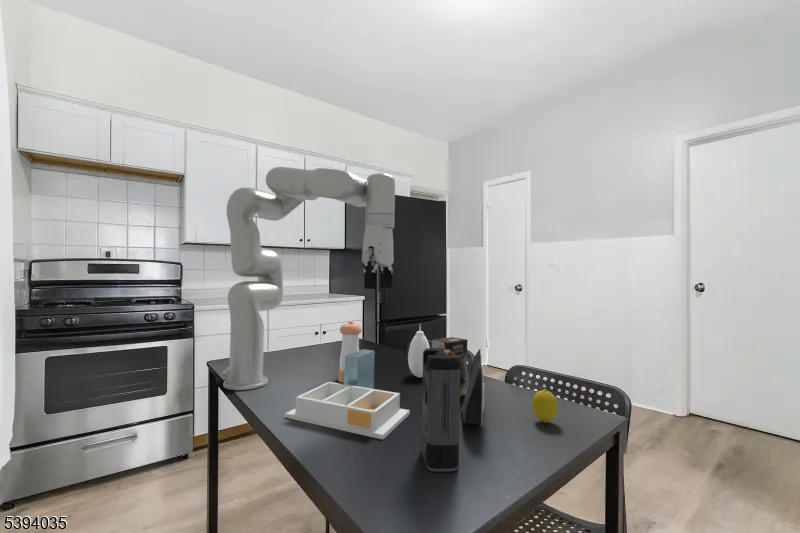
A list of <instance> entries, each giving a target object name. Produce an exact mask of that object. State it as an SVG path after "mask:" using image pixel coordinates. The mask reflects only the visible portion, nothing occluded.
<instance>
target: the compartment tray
mask: <svg viewBox="0 0 800 533" xmlns="http://www.w3.org/2000/svg"><path fill="white" fill-rule="evenodd" d="M400 398H401V393H400V392H393V391H389V390H388V391H387V390H383V389H375V388H374V389H370V388H364V387H358V386H352V385H346V384H344V383H341V382H339V383H338V382H332V381H328V382H325V383H323V384H321V385H319V386H317V387H315V388H313V389H311V390H308V391H305V392H304V393H302V394H299V395H297V396H296V397H295V408H293V409H291V410H289V411H287V412H285V415H284V416H285V418H287V419H290V420H294V421H298V422H299V421H300V422H304V423H308V424H312V425H317V426H322V427H324V428H325V427H327V428H330V429H334V430H339V431H343V432H347V433H352V434H355V435H356V434H357V435H362V436H365V437H370V438H373V439H374V438H375V439H378V440H384V439H385V438H387V437H388V436H389V435H390V434H391V433H392V432H393V431H394V430H395V429H396V428H397V427H398V426H399V425H400V424H401V423H402V422H403V421H404V420H405V419H406V418H408V416H410V413H411V412H410V411H411V410H410V409H405V408H401V402H400V401H401V399H400Z"/></svg>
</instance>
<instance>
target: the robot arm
mask: <svg viewBox="0 0 800 533" xmlns="http://www.w3.org/2000/svg"><path fill="white" fill-rule="evenodd" d="M265 184H266V186H267V189H269V190H270V191H271V192H272V193H271V192H267V191H265V190H261V189H258V188H253V187H240V188H237V189H235V190H234V191H233V192H232V193H231V195H230V196H229V198H228V200H227V203H226V218H227V223H228V229H229V235H230V253H231V254H230V256H231V257H230V258H231V268H232V271H233V273H234V274H235V275H236V276H239V277H242V278H244V277H245V278H257V280H246V281H239V282H237V283H234V285H232V286H231V287H230V289H229V291H228V293H227V304H228V309H229V310H228V311H229V316H230V317H229V318H230V333H229V334H230V342H229V366H228V367H226V368H225V369H223V370H222V371H221V374H222V375H224V376H226V379H225V380H224V381H223V384H222V387H223V388H224V389H227V390H232V391H246V390H254V389H258V388H260V387H263V386H266V385H267V384H268V382H269V378H268V377H267V376H266V375H264V343H265V342H264V341H265V337H264V335H265V324H264V320H263V317H262V316H261V314H260V312H261V311H270V310H275V309H277V308H278V307H279V306H281V303H282V302H283V301H282V300H283V298H284V297H283V296H284V288H283V287H284V285H283V268H282V266H283V265H282V261H281V258H280V256H279V254H278V253H277V252H276V251H275V250H273V249H270V248H264V247H262V245H261V234H260V230H259V227H258V225H257V224H256V222H255V221H254V218H258V219H263V220H267V221H268V220H269V221H271V222H272V221H273V222H274V221H276V222H277V221H280V220H282V219H284V218H285V217H287V216H288V215H289V214H290V213H291V212H293V211H294V210H295V209H296V208H298V207H299V206H300V205H302V204H303V203H304V202H305V201H306V200H307V201H315V200H318V198H324V199H332V200H337V201H339V202H342V203H345V204H349V205H351V206H353V207H357V208H364V207H365V228H364V232H363V241H362V251H361V252H362V253H361V258H362V259H361V262H362V265H363V274H364V277H363V278H364V282H363V283H364V284H363V285H364V286H363V288H364V289H365V290H377V288H378V273H377V268H378V266H380V269H381V273H380V288H382V289H383V288H385V289H386V288H387V289H392V287H393V274H394V273H393V272H394V261H395V258H394V257H395V256H394V233H393V230H394V229H395V208H396V206H395V205H396V204H395V203H396V202H395V201H396V180H395V178H394V177H393V176H392V175H391V174H388V173H373V174H370V175H368V176H367V178H366V179H364V178H361V177H359V176H357V175H355V174H353V173H351V172H349V171H346V170H341V169H335V168H325V167H324V168H323V167H320V168H319V167H318V168H314V169H306V168H295V167H285V166H276V167H273V168H271V169H269V171H268V172H267V173H266V176H265Z"/></svg>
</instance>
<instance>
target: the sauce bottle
mask: <svg viewBox="0 0 800 533" xmlns="http://www.w3.org/2000/svg"><path fill="white" fill-rule="evenodd" d="M421 325H422V324H419V329H418V331H416V332H415V335H414V336H413V338H412V340H411V342H410V345H409V347H408V348H409V349H408V354H407V360H408V361H407V363H408V367H409V370H410V372H411V374H413V376H414V377H417V378H418V379H419V378H423V351H424V350H425V349H428V348H431V347H430V344H429V341H428V339H427V337H426V335H425V333H424V331H423V330H422V327H421ZM421 330H422V331H421Z"/></svg>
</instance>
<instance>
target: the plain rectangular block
mask: <svg viewBox="0 0 800 533" xmlns="http://www.w3.org/2000/svg"><path fill="white" fill-rule="evenodd" d="M375 353H376V352H375V350H371V349H366V348H365V349H364V348H363V349H359V351H357V352H354V353H352V354H349V355H346V356H345V380H344V383H343V384H346V385H352V386H358V387H364V388H370V389H375V357H376V356H375Z"/></svg>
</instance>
